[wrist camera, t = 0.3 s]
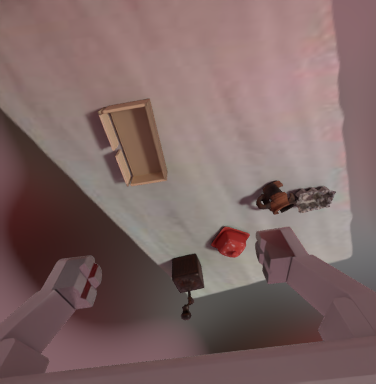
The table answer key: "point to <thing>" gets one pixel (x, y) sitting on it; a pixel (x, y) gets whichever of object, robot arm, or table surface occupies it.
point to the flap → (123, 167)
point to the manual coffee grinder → (187, 278)
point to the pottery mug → (275, 198)
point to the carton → (139, 140)
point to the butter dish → (230, 242)
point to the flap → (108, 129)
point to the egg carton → (314, 199)
